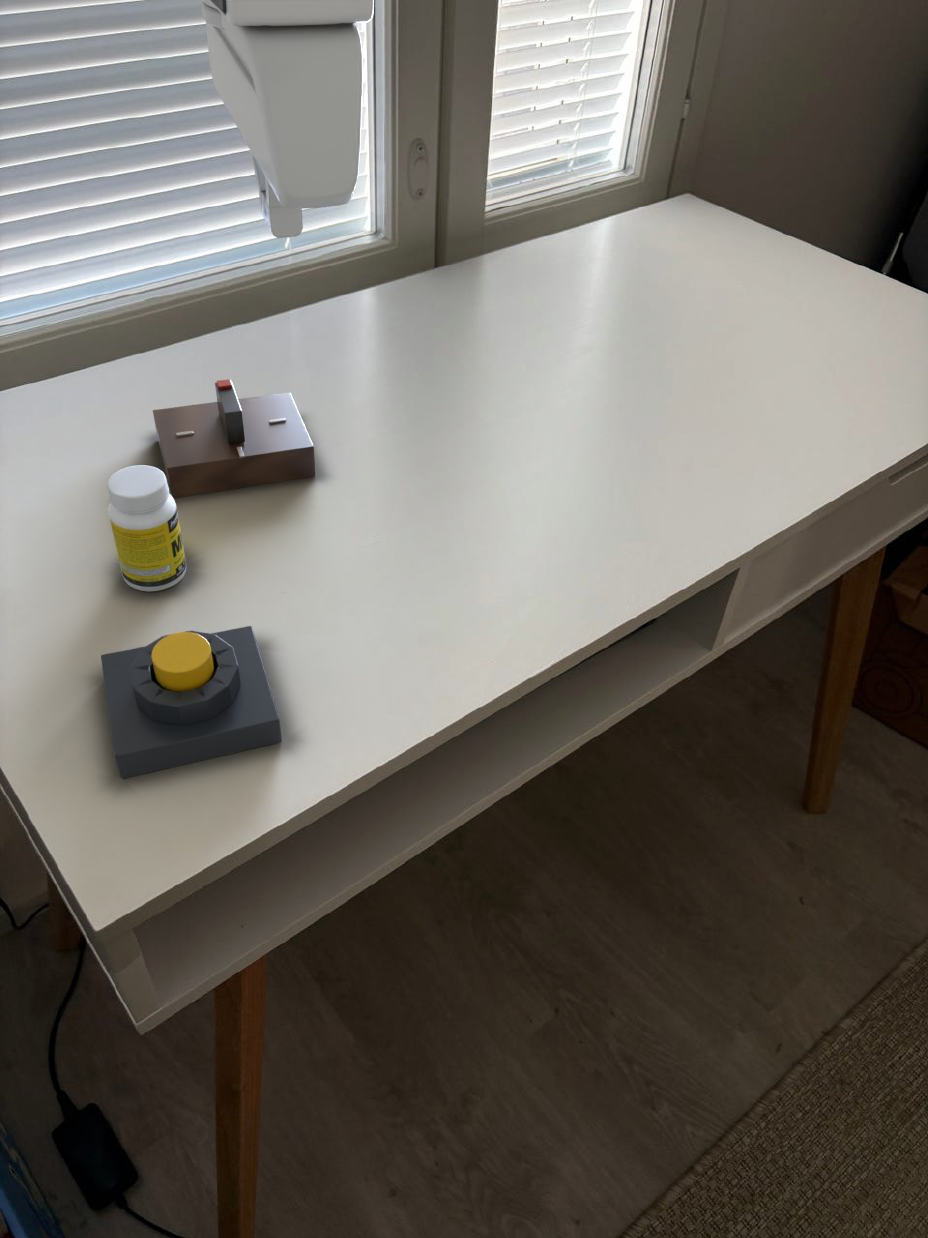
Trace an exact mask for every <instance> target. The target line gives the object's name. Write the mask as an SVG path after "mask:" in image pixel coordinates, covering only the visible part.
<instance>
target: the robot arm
mask: <svg viewBox="0 0 928 1238" xmlns="http://www.w3.org/2000/svg"><path fill="white" fill-rule="evenodd" d="M374 3H375V0H201V2H200V5H201V15H202V18H203V20H205V28H206V38H207V39H206V40H207V41H206V42H207V52H208V62H209V68H210V74H211V78H212V83H213V86H214V89H215V91H216V92H217V95H218V96H219V97H220V99H221V101H222V103H223V105H224V106H225V108H226V110H227V112H228V114H229V116H230V117H231V119H232V121H233V123H234V124H235V126H236V127H237V130H238V131H239V133H240V134H241V136H242V138H243V140H244V142H245V143H246V145H247V147H248V149H249V153H250V157H251V161H252V166H253V170H254V175H255V178H256V183H257V187H258V197H259V198H258V199H259V207H260V208H259V209H260V213H261V215H262V217H263V219H264V221H265V223H266V225H267V226H268V228H269V231H270V232H271V234H272V236H273V237H275V238H277V239H285V238H294V237H295V238H296V237H297V236H298V237H299V236H300V235H301V234H302V232H303V229H304V225H303V224H304V223H303V209H318V208H328V207H329V208H330V207H339V206H343V205H346V204H347V205H348V204H349V203H350V201H351V200H352V198H353V195H354V193H355V189H356V186H357V182H358V177H359V172H360V159H361V158H360V156H361V139H362V137H361V136H362V115H363V85H364V84H363V83H364V62H363V61H364V60H363V48H362V39H361V38H362V37H361V35H360V30H359V28H358V26H357V24H360V23H369V22H370V21H372V19H373V17H374V7H375V4H374Z"/></svg>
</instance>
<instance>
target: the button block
mask: <svg viewBox="0 0 928 1238" xmlns="http://www.w3.org/2000/svg"><path fill="white" fill-rule="evenodd" d="M185 632H190V633H195V634H198V635H201V636H202V637H204V638H205V639H206V640H207V641H208V642H209V644H210V647H211V653H212V659H213V665H214V671H213V674H212V676H211V678H210V679H209V680H208V681H207V682H206V683H205V684H204V685H202V686H201V687H199V688H197V689H192V690H188V691H183V692H177V691H171V690H168V689H166V688H164V687H163V686H161V685H160V684H159V682H158V681H157V679H156V676H155V671H154V667H153V662H152V657H151V655H152V650H153V648H154V647H155V645H156V644H157V643H158V642H159V641H160V640H161V639H163V638H165V637H166V636H169V635H171V634H172V633H170V634H164V635H161V636H160V637H159V638H157V639H155V640H154V641H152V642H150V643H148V644H147V645H145V646H144V645H143V646H139V647H134V648H129V649H123V650H119V651H115V652H109V653H104V654H100V662H101V669H102V676H103V683H104V690H105V697H106V704H107V712H108V719H109V726H110V733H111V734H110V735H111V740H112V747H113V754H114V759H115V764H116V766H117V770H118V774H119V776H120V779H126V778H130V777H131V778H132V777H135V776H140V775H144V774H148V773H153V772H157V771H161V770H166V769H170V768H174V767H179V766H184V765H187V764H192V763H197V762H201V761H205V760H210V759H214V758H218V757H222V756H223V757H224V756H226V755H227V756H228V755H231V754H235V753H239V752H244V751H245V752H246V751H249V750H252V749H258V748H262V747H266V746H270V745H275V744H279V743H282V741H283V739H282V728H281V719H280V716H279V712H278V709H277V706H276V702H275V700H274V695H273V692H272V689H271V686H270V682H269V679H268V675H267V672H266V668H265V665H264V662H263V658H262V655H261V652H260V649H259V645H258V641H257V638H256V635H255V632H254V629H253V626H252V625H248V626H243V627H242V626H241V627H237V628H232V629H227V630H223V631H216V632H212V633H208V632H202V631H196V630H186V631H185Z"/></svg>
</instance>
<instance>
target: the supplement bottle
mask: <svg viewBox="0 0 928 1238" xmlns="http://www.w3.org/2000/svg"><path fill="white" fill-rule="evenodd" d="M165 474H166V473H165V472H163V471H162V470H161V469H159V468H157V467H155V466H153V465H152V466H151V465H144V464H137V465H131V466H126V467H123V468H121V469H119V470H117V471H115V472H114V473H113V474H112V475H111V476H110V477H109V478H108V481H107V490H108V491H107V492H108V495H109V500H110V503H109V504H108V508H107V514H108V518H109V519H108V520H109V523H110V528H111V533H112V536H113V541H114V545H115V549H116V555H117V559H118V563H119V567H120V572H121V576H122V578H123V581H124V582H125V583H126V584H127V585H128V587H130V588H132V589H134V590H137V591H141V592H149V593H151V592H159V591H163V590H166V589H169V588H171V587H174V586H175V585H177V584H178V583H179V582H180V581H181V580H182V579H183V578H184V576H185V575H186V573H187V559H186V553H185V549H184V543H183V537H182V530H181V525H180V520H179V514H178V508H177V507H178V506H177V503H176V500H175V498H173V497H172V495H171V493H170V487H169V483H168V479H167V475H165Z"/></svg>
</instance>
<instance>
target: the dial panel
mask: <svg viewBox="0 0 928 1238" xmlns="http://www.w3.org/2000/svg"><path fill="white" fill-rule="evenodd" d="M238 401H239V404H240V407H241V410H242V415H243V424H244V433H245V442H241V443H233V444H229V443H228V440H227V437H226V434H225V431H224V428H223V425H222V421H221V418H220V415H219V411H218V403H217V401H212V402H205V403H204V402H203V403H198V404H190V405H182V406H174V407H166V408H160V409H153V410H152V416H153V421H154V427H155V432H156V437H157V442H158V446H159V451H160V455H161V459H162V462H163V463H162V464H163V467H164V470H165V471H164V472H165V474H166V475H165V476H166V480H167V484H168V488H169V492H170V495H171V496H172V497H173V499H176V498H184V497H189V496H194V495H195V496H196V495H202V494H209V493H215V492H221V491H227V490H234V489H240V488H241V489H242V488H246V487H254V486H259V485H265V484H273V483H278V482H284V481H292V480H298V479H305V478H311V477H315V476H316V461H315V446H314V443H313V440H312V439H311V437H310V434H309V432H308V430H307V428H306V425H305V422H304V421H303V418H302V416H301V413H300V411H299V409H298V407H297V404H296V402H295V400H294V398H293V396H292V393H291V392H288V391H287V392H282V393H273V394H266V395H258V396H251V397H242V398H238Z"/></svg>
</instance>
